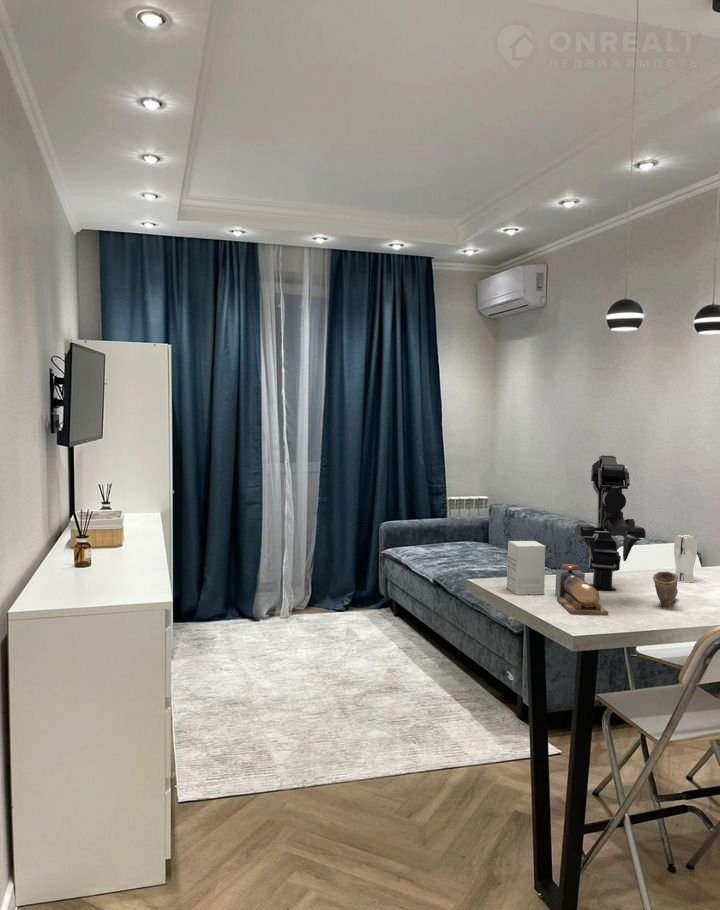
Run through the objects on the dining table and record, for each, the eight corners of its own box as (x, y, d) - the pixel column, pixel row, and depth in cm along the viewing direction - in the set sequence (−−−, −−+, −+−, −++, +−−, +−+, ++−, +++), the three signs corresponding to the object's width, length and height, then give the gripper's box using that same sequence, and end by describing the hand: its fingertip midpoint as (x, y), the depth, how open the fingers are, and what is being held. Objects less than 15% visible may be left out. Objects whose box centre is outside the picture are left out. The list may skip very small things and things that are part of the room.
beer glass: (670, 577, 237) (673, 534, 236) (693, 579, 235) (695, 535, 235) (674, 582, 231) (676, 537, 230) (697, 583, 229) (699, 538, 228)
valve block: (555, 594, 209) (556, 563, 209) (578, 595, 209) (579, 564, 209) (561, 600, 202) (563, 568, 202) (585, 601, 202) (587, 569, 202)
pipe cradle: (557, 600, 202) (557, 592, 202) (591, 601, 202) (591, 593, 202) (571, 614, 188) (571, 604, 188) (608, 615, 188) (608, 605, 188)
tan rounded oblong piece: (565, 596, 201) (566, 576, 201) (585, 596, 201) (586, 577, 200) (578, 607, 189) (579, 586, 189) (599, 607, 189) (599, 587, 189)
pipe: (684, 600, 207) (686, 566, 207) (674, 612, 193) (676, 576, 193) (661, 596, 211) (663, 563, 210) (649, 608, 197) (651, 573, 197)
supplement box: (533, 587, 218) (535, 540, 217) (544, 595, 209) (546, 545, 208) (505, 587, 216) (507, 540, 216) (515, 595, 208) (517, 545, 207)
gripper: (587, 509, 194) (585, 565, 195) (654, 511, 194) (652, 567, 195) (575, 505, 205) (573, 557, 206) (639, 506, 205) (636, 559, 206)
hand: (608, 560), depth 203 cm, fingers open, 9 cm apart
